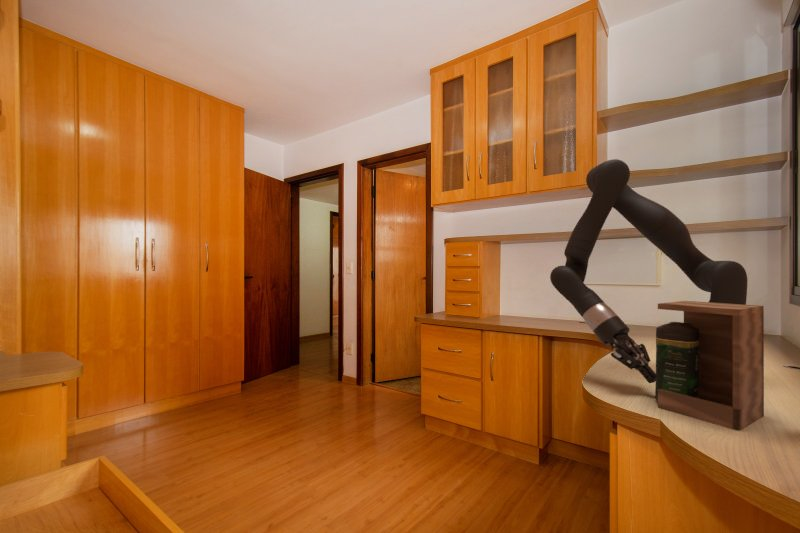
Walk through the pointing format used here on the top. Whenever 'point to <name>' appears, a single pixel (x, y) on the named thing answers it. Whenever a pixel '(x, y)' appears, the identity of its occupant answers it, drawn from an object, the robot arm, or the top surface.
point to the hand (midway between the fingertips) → (654, 381)
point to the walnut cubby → (723, 364)
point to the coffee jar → (677, 359)
